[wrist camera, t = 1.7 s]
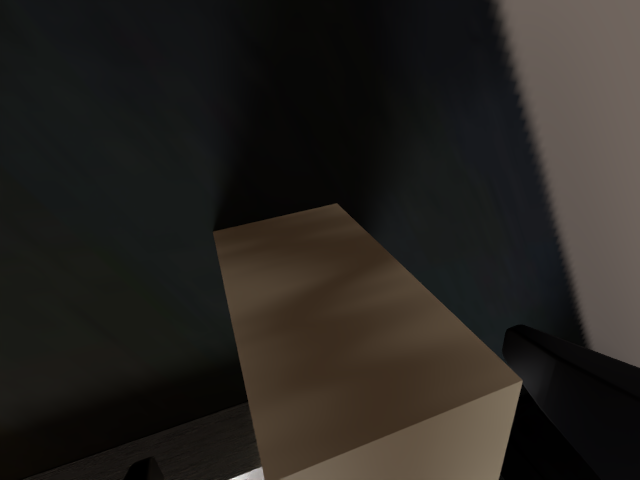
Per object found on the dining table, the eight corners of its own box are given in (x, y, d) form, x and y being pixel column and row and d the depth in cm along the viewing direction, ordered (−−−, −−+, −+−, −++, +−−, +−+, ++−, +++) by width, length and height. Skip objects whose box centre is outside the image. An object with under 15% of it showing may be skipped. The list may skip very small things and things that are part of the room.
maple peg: (336, 203, 13) (522, 380, 6) (344, 300, 16) (489, 516, 8) (212, 231, 12) (265, 484, 5) (239, 331, 14) (302, 609, 7)
